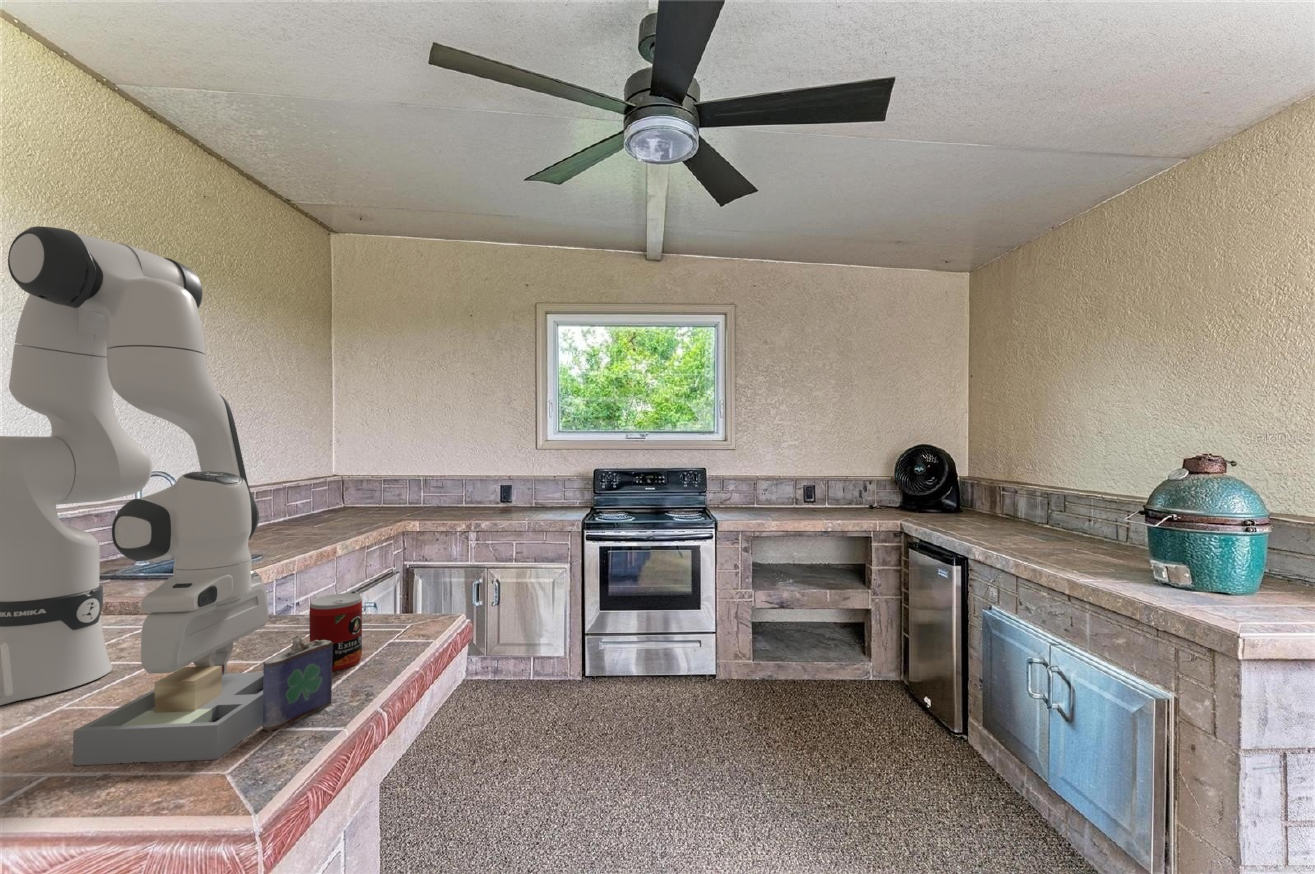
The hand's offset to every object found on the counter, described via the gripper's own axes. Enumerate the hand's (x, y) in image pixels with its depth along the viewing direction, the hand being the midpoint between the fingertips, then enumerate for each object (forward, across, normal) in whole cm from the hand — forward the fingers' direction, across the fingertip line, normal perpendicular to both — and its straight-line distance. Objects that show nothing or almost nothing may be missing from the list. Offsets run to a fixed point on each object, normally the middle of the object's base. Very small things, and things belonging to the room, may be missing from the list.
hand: (213, 679), depth 79 cm
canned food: (+4, -14, +10) cm, 17 cm away
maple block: (+1, +4, 0) cm, 5 cm away
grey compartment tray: (+3, +5, +3) cm, 7 cm away
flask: (+4, +5, +14) cm, 16 cm away
